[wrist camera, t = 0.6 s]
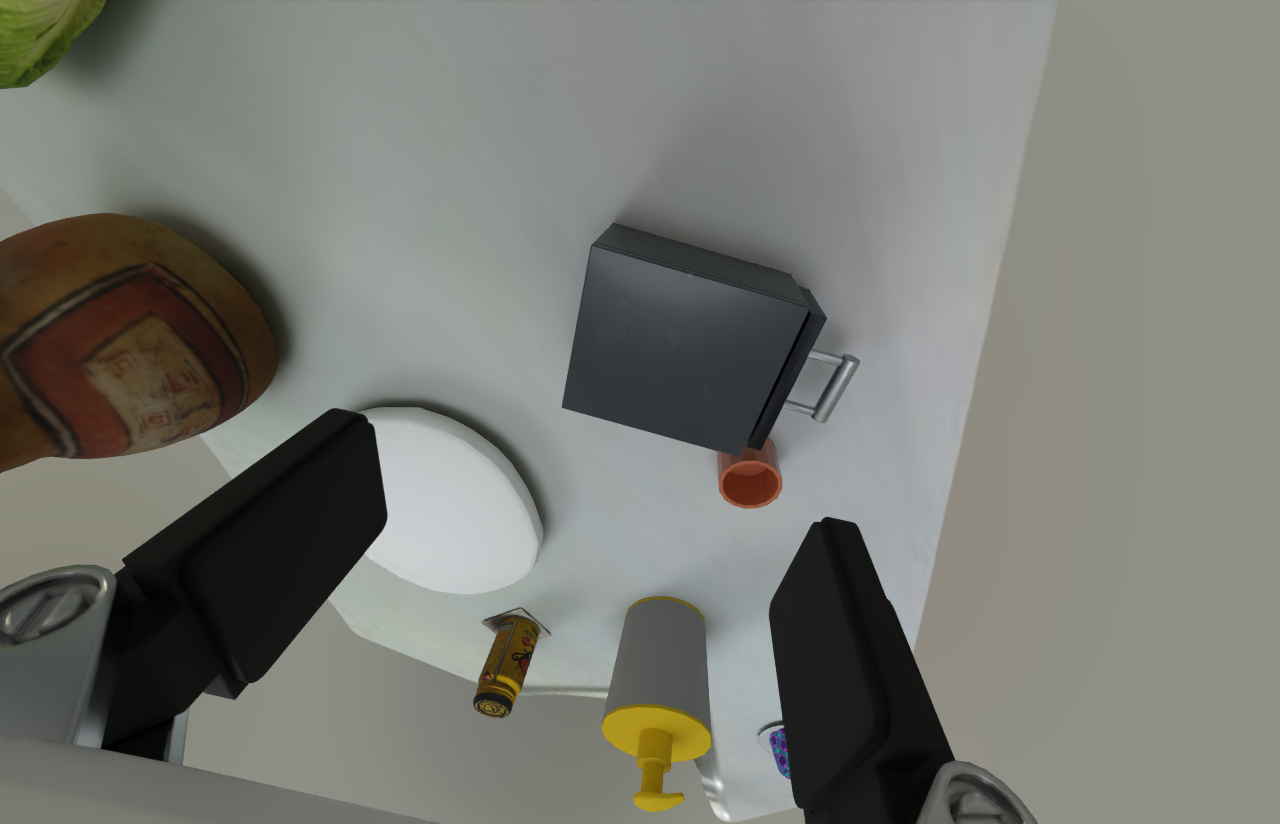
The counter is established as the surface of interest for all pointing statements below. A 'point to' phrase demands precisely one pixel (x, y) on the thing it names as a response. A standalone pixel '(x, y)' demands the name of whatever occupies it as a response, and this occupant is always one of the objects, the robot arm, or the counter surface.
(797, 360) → the drawer
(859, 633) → the robot arm
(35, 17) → the lettuce
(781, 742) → the pudding
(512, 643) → the condiment
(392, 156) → the counter surface
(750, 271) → the dark gray drawer box
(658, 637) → the soap bottle
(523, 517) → the plate
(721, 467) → the cup
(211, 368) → the ceramic pitcher
